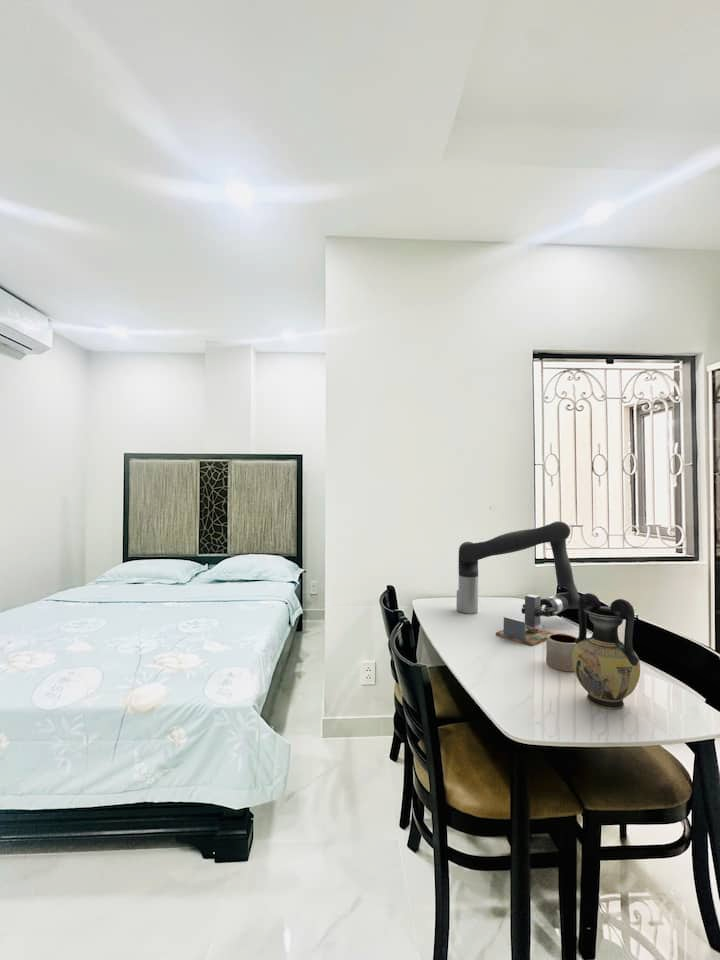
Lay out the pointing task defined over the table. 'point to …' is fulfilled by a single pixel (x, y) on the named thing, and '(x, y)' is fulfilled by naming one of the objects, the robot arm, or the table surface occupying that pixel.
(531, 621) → the block
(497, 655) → the table surface
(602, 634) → the amphora
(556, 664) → the planter
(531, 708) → the table surface
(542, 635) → the mottled brown square slab
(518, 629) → the grey rectangular panel
